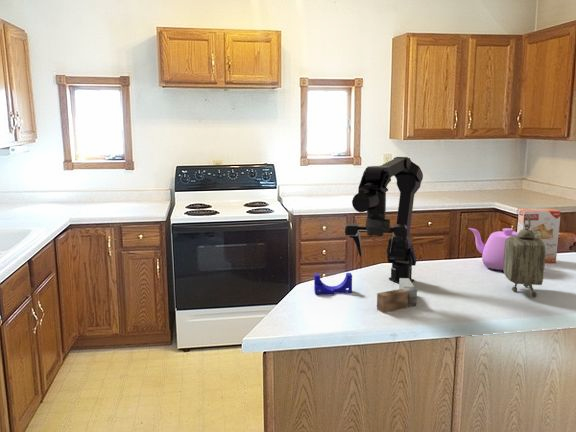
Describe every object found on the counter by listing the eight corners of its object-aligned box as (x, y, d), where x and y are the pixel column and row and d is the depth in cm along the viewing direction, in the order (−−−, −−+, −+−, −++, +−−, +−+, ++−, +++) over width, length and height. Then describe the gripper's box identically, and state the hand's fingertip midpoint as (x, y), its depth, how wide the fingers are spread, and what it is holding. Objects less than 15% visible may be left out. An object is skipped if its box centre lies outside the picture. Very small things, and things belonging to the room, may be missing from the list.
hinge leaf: (417, 306, 154) (418, 291, 153) (404, 306, 154) (405, 290, 153) (409, 292, 167) (410, 278, 166) (397, 292, 167) (398, 278, 166)
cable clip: (315, 295, 166) (315, 277, 165) (314, 291, 170) (314, 273, 169) (352, 294, 166) (352, 276, 165) (350, 290, 171) (350, 272, 170)
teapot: (535, 263, 201) (538, 225, 199) (524, 276, 184) (527, 235, 182) (475, 255, 214) (477, 220, 212) (460, 267, 197) (462, 228, 195)
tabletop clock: (541, 299, 160) (548, 220, 156) (510, 297, 162) (516, 219, 157) (530, 285, 174) (535, 212, 170) (501, 284, 176) (506, 211, 171)
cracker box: (520, 263, 202) (524, 210, 198) (514, 259, 208) (518, 208, 204) (557, 263, 201) (561, 210, 198) (550, 259, 207) (554, 208, 204)
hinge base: (410, 302, 158) (411, 286, 158) (419, 305, 155) (419, 289, 154) (376, 309, 153) (376, 292, 152) (384, 313, 149) (384, 296, 148)
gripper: (343, 211, 153) (343, 262, 156) (407, 212, 149) (406, 264, 152) (346, 205, 164) (346, 253, 167) (407, 206, 160) (405, 255, 163)
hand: (375, 256), depth 162 cm, fingers open, 9 cm apart
